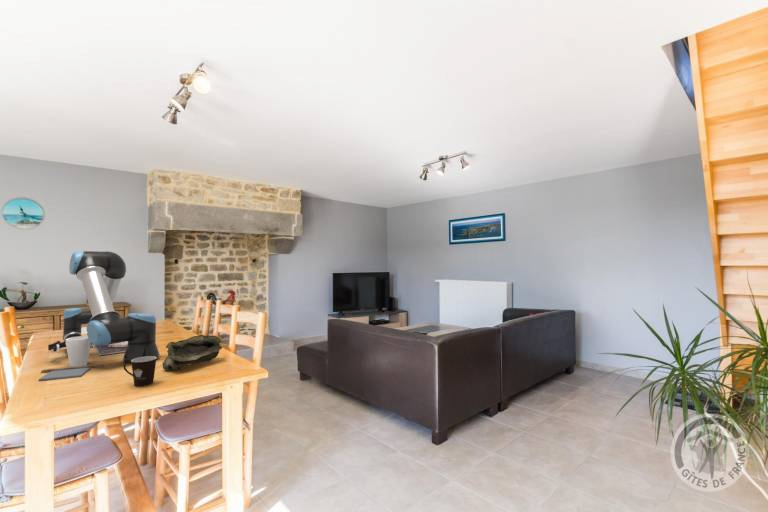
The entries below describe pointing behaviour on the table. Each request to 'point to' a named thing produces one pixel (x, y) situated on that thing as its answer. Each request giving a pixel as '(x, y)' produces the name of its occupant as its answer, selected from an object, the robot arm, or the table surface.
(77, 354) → the foam cup
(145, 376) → the coffee mug
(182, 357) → the hollow geode rock
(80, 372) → the mat
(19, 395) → the table surface
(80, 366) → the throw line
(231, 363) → the table surface
